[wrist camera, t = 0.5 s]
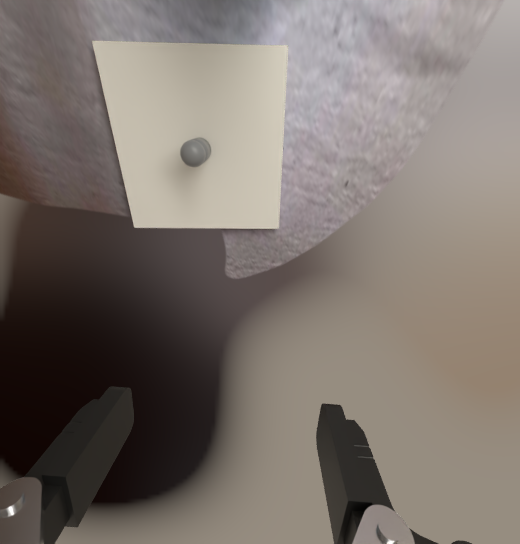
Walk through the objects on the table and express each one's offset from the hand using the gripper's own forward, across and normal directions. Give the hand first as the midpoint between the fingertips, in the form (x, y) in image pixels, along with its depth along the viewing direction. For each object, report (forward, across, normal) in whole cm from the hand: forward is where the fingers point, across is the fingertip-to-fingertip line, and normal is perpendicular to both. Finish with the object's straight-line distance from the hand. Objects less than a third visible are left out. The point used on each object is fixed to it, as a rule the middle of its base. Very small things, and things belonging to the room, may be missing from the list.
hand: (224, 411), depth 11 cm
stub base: (+24, +7, -12) cm, 28 cm away
